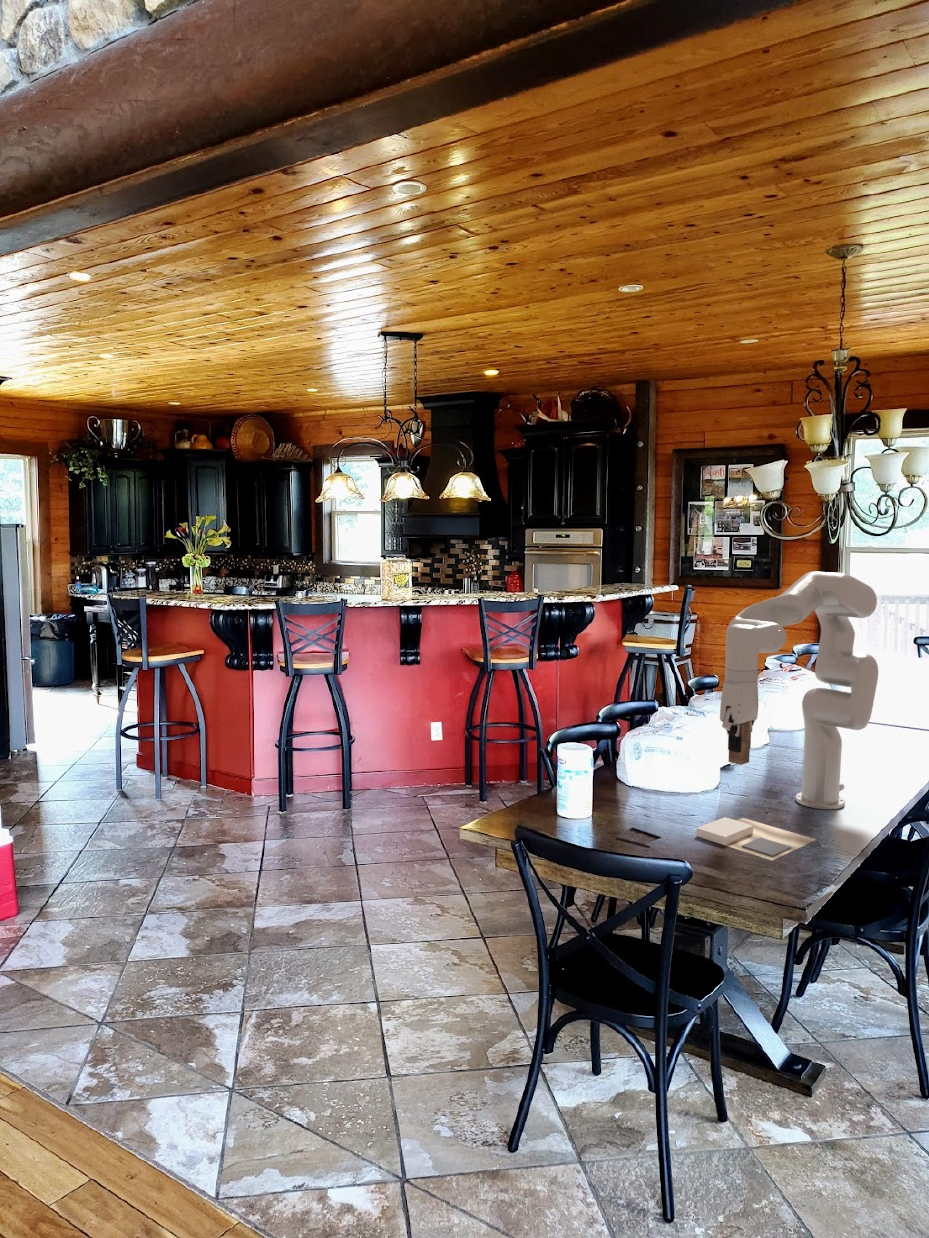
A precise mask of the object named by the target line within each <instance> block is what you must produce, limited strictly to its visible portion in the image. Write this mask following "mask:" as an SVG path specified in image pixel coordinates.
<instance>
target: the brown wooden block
mask: <svg viewBox="0 0 929 1238" xmlns="http://www.w3.org/2000/svg"><path fill="white" fill-rule="evenodd" d="M732 722H734V720H732ZM732 726H733V727H734V728H735V729H736V726H734V725H732ZM739 736H741V752H739V753H737V752H733V751H729V750H728V762H729V763H731V764H735V765H739V766H742V765H745V764H748V763H750V749H751V748H750V721H747V722H744V723H742V724H741V726H740V735H739Z"/></svg>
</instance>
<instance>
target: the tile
mask: <svg viewBox="0 0 929 1238" xmlns="http://www.w3.org/2000/svg"><path fill="white" fill-rule="evenodd" d="M695 833H696V835H695V836H696V837H697V838H700V839H705V840H706V841H710V842H713V843H716V844H719V845H722V846H725V845H727V844H730V843H732V842H734V841H737V840H739V839H742V838H744V837H746V836H749V835H751V834H753V825H750V824H746V823H743V822H740V821H736V819H732V818H729V817H726V816H724V817H721V818H719V819H716V820H714V821H711V822H709V823H706V824H703V825H701V826H698V827H696V832H695Z"/></svg>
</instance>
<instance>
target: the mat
mask: <svg viewBox="0 0 929 1238" xmlns="http://www.w3.org/2000/svg"><path fill="white" fill-rule="evenodd" d="M742 847H743V848H746V849H749V850H752V851H756V852H759V853H762V854H765V855H768V856H771V857H774V856H776V855H778V854H780V853H782V852H785V851H787V850H789V849H791V847H790V846H787V845H784V844H780V843H777V842H774V841H771V840H767V839H764V838H761V837H760V838H758V839H755V840H753V841H751V842H749V843H746V844H744V845H742Z"/></svg>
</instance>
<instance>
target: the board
mask: <svg viewBox="0 0 929 1238" xmlns="http://www.w3.org/2000/svg"><path fill="white" fill-rule="evenodd" d="M735 820H736V819H735ZM736 821H740V822H743V823H746V824H750V825H753V834H751V835H749V836H746V837H744V838H742V839H739V840H737V841H734V842H732V843H730V844H727V845H724V846H726V847H729V848H731V849H735V850H737V851H741V852H743V853H747V854H750V855H753V856H757V857H759V858H762V859H765V860H768V861H775V860H777V859H779V858H781V857H783V856H785V855H787V854H789V853H791V852H792V853H793V852H794V851H795V850H797V849H801V848H802V847H804V846H806V845H809V844H811V843H812V842H814V841H817V839H816V838H813V837H810V836H806V835H802V834H799V833H796V832H792V831H789V830H786V829H783V828H779V827H775V826H772V825H768V824H765V823H762V822H758V821H756V820H755V821H754V820H751V819H748V818H744V817H741V818H738V819H737V820H736ZM760 837H761V838H764V839H767V840H771V841H774V842H777V843H780V844H784V845H787V846H790V847H791V849H789V850H787V851H785V852H782V853H780V854H778V855H776V856H774V857H771V856H768V855H765V854H762V853H759V852H756V851H752V850H749V849H746V848H743V847H742V845H744V844H746V843H749V842H751V841H753V840H755V839H758V838H760Z"/></svg>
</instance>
